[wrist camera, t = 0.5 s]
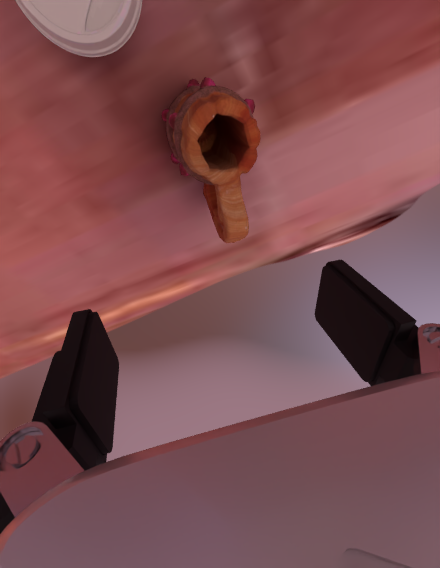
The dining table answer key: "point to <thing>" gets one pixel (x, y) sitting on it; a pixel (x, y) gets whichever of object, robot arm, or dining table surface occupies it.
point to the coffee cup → (84, 23)
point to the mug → (215, 149)
